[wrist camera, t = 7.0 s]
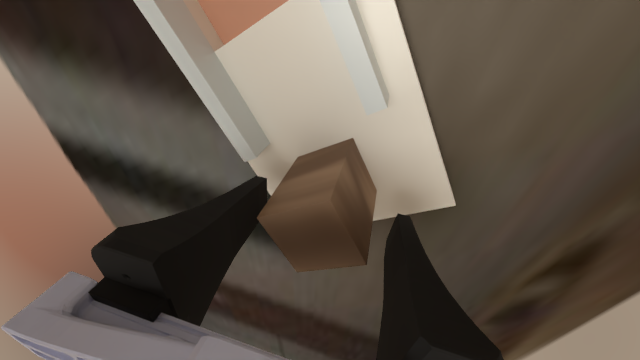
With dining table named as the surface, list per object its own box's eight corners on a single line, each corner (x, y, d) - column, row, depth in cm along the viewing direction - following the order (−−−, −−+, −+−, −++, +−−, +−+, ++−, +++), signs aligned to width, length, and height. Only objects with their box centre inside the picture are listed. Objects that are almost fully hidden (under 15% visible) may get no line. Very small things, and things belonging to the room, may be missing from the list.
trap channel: (133, -40, 14) (69, -49, 12) (318, -256, 9) (279, -372, 6) (302, 222, 23) (289, 253, 20) (452, 191, 17) (461, 228, 14)
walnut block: (297, 157, 17) (256, 217, 12) (352, 137, 15) (330, 200, 10) (324, 203, 19) (297, 272, 14) (376, 190, 17) (366, 265, 12)
